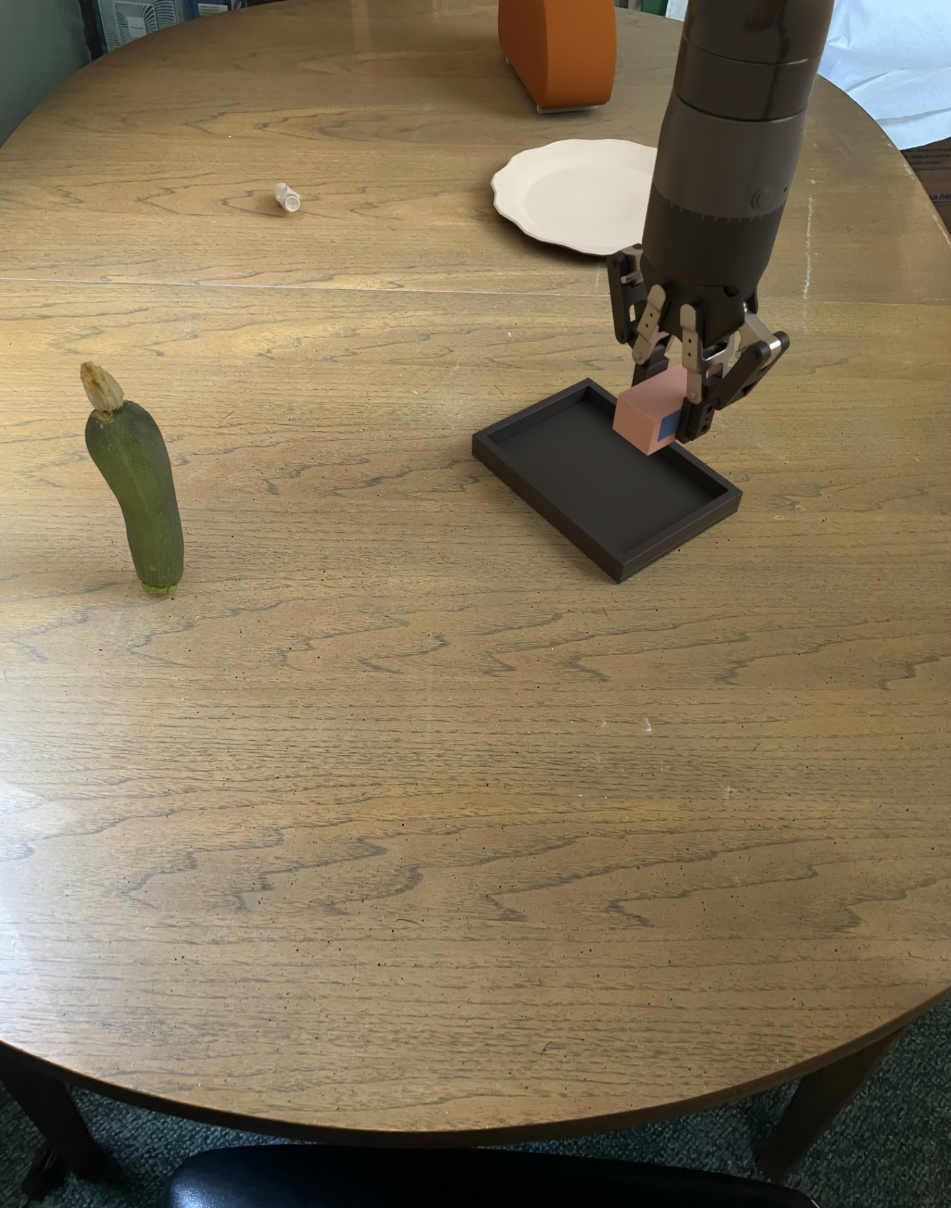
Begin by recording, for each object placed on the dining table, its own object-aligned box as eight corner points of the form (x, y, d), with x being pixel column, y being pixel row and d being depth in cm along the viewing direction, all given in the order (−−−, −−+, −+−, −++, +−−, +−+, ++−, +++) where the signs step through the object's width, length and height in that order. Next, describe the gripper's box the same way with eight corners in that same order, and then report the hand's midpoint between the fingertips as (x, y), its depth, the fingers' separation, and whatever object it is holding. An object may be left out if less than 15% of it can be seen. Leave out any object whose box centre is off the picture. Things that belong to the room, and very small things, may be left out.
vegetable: (166, 557, 69) (86, 320, 54) (218, 574, 68) (151, 338, 53) (131, 600, 67) (36, 363, 51) (184, 618, 66) (104, 383, 50)
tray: (737, 511, 74) (743, 491, 72) (619, 584, 69) (623, 565, 67) (586, 396, 82) (588, 376, 81) (471, 454, 77) (471, 434, 76)
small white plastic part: (309, 195, 104) (306, 166, 102) (300, 222, 100) (296, 194, 98) (276, 193, 104) (272, 165, 102) (266, 221, 100) (262, 193, 98)
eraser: (719, 417, 66) (729, 382, 64) (647, 456, 64) (655, 421, 61) (682, 390, 68) (690, 356, 66) (611, 428, 65) (617, 393, 63)
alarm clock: (611, 121, 117) (631, -36, 104) (541, 126, 116) (553, -31, 103) (557, 47, 132) (569, -98, 119) (495, 52, 130) (500, -95, 118)
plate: (584, 296, 92) (587, 279, 91) (447, 188, 105) (447, 172, 104) (769, 227, 101) (774, 210, 100) (622, 136, 115) (624, 120, 113)
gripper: (867, 210, 51) (780, 455, 64) (677, 114, 58) (634, 352, 71) (773, 254, 48) (703, 501, 61) (585, 147, 55) (558, 389, 68)
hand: (666, 420), depth 66 cm, fingers closed on eraser, 3 cm apart
